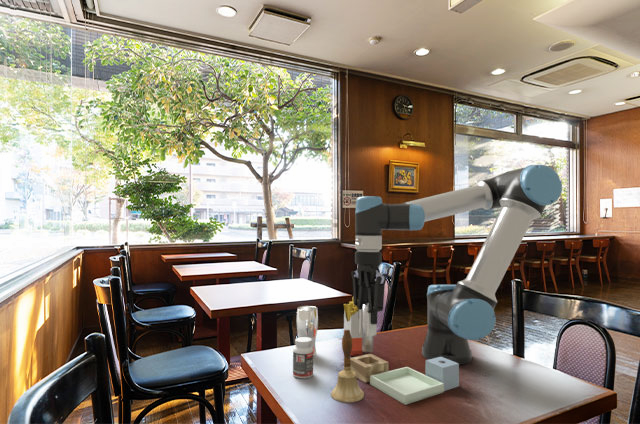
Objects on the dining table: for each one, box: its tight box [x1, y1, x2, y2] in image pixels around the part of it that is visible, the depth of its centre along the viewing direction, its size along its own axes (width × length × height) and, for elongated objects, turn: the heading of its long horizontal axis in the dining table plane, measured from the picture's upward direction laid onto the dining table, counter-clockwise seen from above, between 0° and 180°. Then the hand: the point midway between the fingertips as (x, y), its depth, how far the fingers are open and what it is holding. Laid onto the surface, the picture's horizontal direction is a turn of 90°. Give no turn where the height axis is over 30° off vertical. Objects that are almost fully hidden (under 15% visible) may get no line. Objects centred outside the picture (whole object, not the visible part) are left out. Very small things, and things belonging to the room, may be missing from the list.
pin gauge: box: [362, 302, 374, 354], centre depth 107 cm, size 3×3×13 cm
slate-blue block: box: [424, 357, 460, 392], centre depth 101 cm, size 6×6×6 cm
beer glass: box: [296, 305, 319, 358], centre depth 123 cm, size 7×7×15 cm
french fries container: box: [343, 296, 364, 357], centre depth 125 cm, size 5×11×18 cm, turn 9°
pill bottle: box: [292, 337, 314, 379], centre depth 106 cm, size 6×6×10 cm
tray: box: [369, 366, 445, 406], centre depth 98 cm, size 13×13×2 cm
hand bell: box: [330, 330, 365, 404], centre depth 94 cm, size 8×8×16 cm
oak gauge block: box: [350, 353, 390, 384], centre depth 107 cm, size 8×8×4 cm
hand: (367, 333), depth 107 cm, fingers closed on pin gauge, 3 cm apart
